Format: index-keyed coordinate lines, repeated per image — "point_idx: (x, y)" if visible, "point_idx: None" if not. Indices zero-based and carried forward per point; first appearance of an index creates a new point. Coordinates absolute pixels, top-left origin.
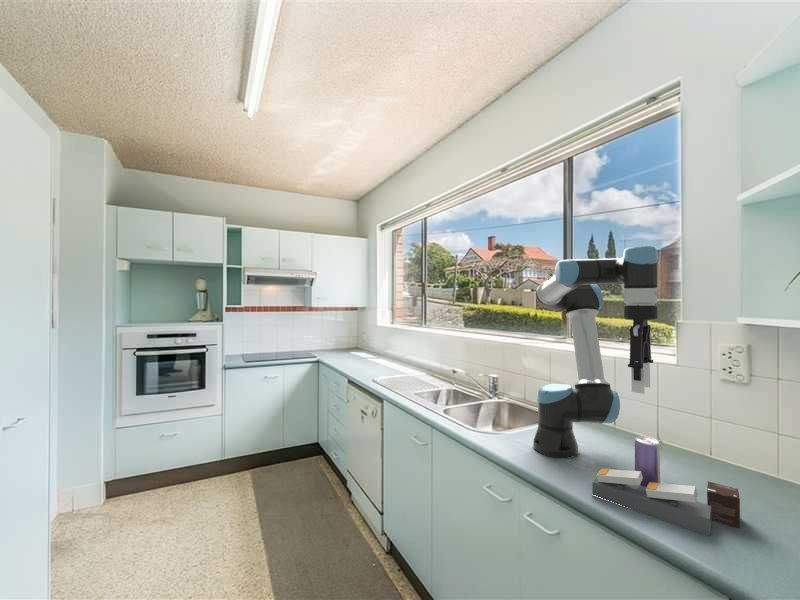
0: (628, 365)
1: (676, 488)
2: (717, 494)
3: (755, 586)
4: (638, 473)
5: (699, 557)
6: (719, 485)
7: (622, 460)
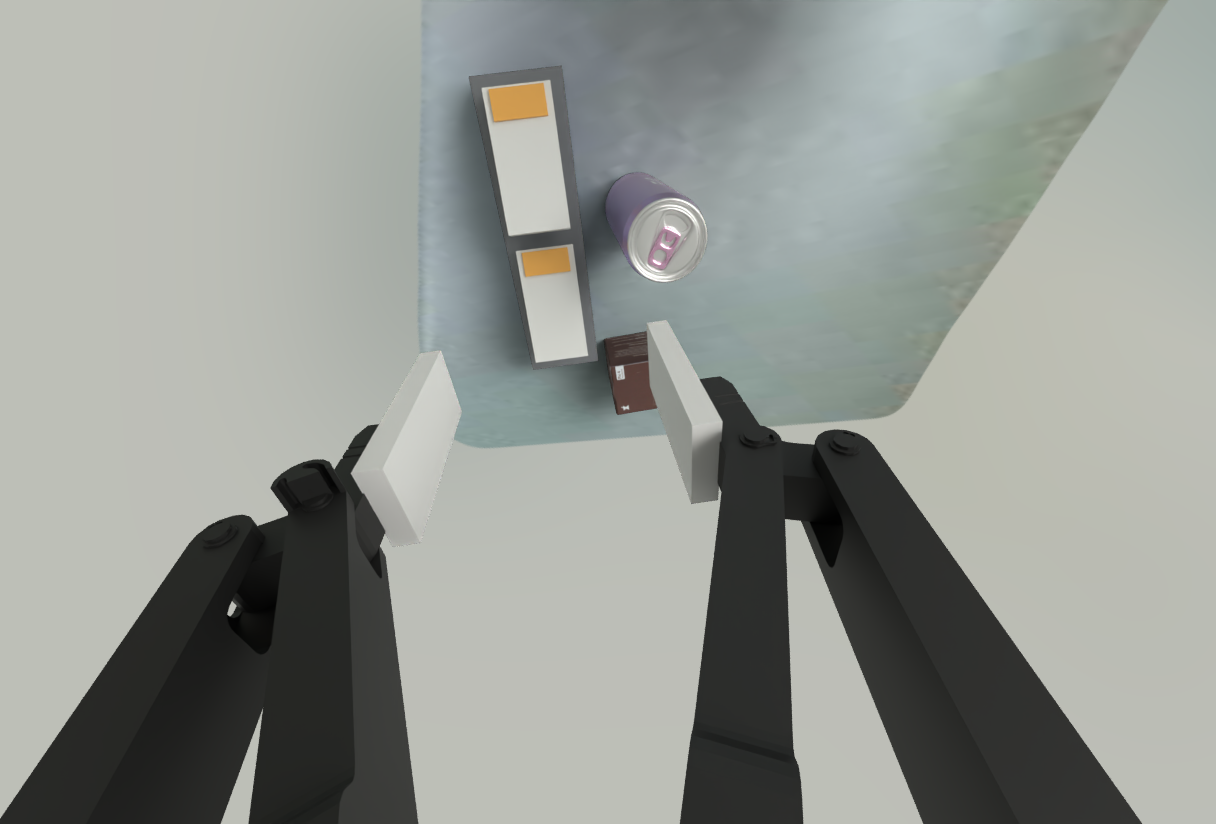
0: (280, 483)
1: (555, 320)
2: (612, 382)
3: None
4: (548, 226)
5: None
6: None
7: (835, 56)
